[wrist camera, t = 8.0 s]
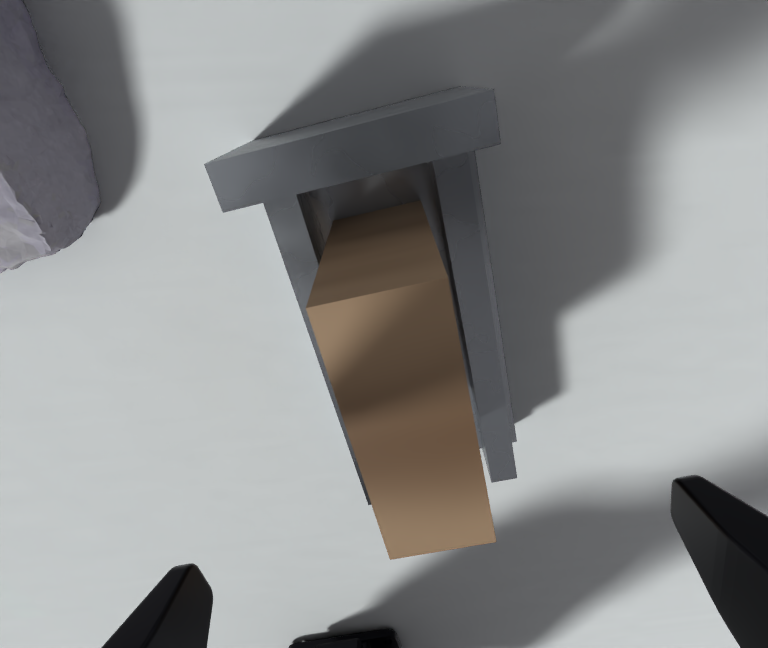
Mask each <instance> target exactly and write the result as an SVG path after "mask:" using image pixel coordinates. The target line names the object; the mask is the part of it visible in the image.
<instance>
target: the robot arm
mask: <svg viewBox="0 0 768 648" xmlns="http://www.w3.org/2000/svg"><path fill="white" fill-rule="evenodd" d="M671 516H672V519H673V522H674V524H675V526H676V528H677V530H678V532H679V534H680V536H681V538H682V540H683V542H684V544H685V546H686V548H687V550H688V552H689V554H690V556H691V558H692V560H693V562H694V564H695V566H696V568H697V570H698V572H699V574H700V576H701V578H702V580H703V582H704V584H705V586H706V588H707V590H708V592H709V595H710V597H711V598H712V600H713V602H714V604H715V606H716V608H717V610H718V612H719V613H720V615H721V617H722V618H723V620H724V622H725V623H726V625H727V627H728V628H729V630H730V632H731V633H732V635H733V636H734V638H735V640H736V641H737V643H738V644H739V646H740V648H768V516H766V515H765V514H763V513H761V512H760V511H758V510H756V509H755V508H753V507H751V506H750V505H748V504H746V503H745V502H743V501H741V500H740V499H738V498H736V497H735V496H733V495H731V494H730V493H728V492H726V491H725V490H723V489H721V488H720V487H718V486H716V485H715V484H713V483H711V482H710V481H708V480H706V479H705V478H703V477H701V476H698V475H691V476H686V477H680V478H676V479H674V480H673V482H672V490H671ZM212 605H213V593H212V589H211V587H210V585H209V584H208V582H207V581H206V579H205V577H204V576H203V574H202V573H201V571H200V569H199V568H198V566H197V565H195V564H185V565H179V566H175V567H173V568H172V569H171V570H170V571H169V572H168V573H167V574H166V575H165V576H164V577H163V578H162V580H161V581H160V582H159V583H158V584H157V585H156V586H155V588H154V589H153V590H152V591H151V592H150V593H149V594H148V595H147V597H146V598H145V599H144V600H143V601H142V602H141V603H140V605H139V606H138V607H137V608H136V609H135V610H134V611H133V613H132V614H131V615H130V616H129V617H128V618H127V619H126V620H125V622H124V623H123V624H122V625H121V626H120V627H119V628H118V630H117V631H116V632H115V633H114V634H113V635H112V636H111V637H110V639H109V640H108V641H107V642H106V643H105V644H104V645H103V647H102V648H207V641H208V634H209V627H210V619H211V612H212ZM289 648H402V647H401V645H400V642H399V639H398V637H397V634H396V632H395V631H393V630H390V629H385V630H378V631H372V632H366V633H359V634H353V635H347V636H340V637H334V638H327V639H321V640H315V641H308V642H302V643H295V644H292V645H290V646H289Z"/></svg>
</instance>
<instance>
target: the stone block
mask: <svg viewBox="0 0 768 648" xmlns="http://www.w3.org/2000/svg"><path fill="white" fill-rule="evenodd" d="M100 203H101V200H100V195H99V186H98V184H97V181H96V178H95V173H94V168H93V162H92V153H91V148H90V145H89V143H88V138H87V133H86V131H85V129H84V127H83V126H82V125H81V123H80V122H79V119H78V117H77V115H76V114H75V112H74V111H73V109H72V107H71V105H70V104H69V102H68V100H67V98H66V96H65V94H64V88H63V86H62V85H61V84H60V83H59V81H58V80H57V79H56V78H55V76H54V75H53V74H52V73H51V71H50V70H49V68H48V67H47V64H46V62H45V59H44V56H43V53H42V51H41V49H40V47H39V43H38V39H37V35H36V31H35V29H34V28H33V26H32V21H31V17H30V15H29V13H28V10H27V9H26V7H25V5H24V3H23V1H22V0H0V273H2V272H3V271H5V270H6V269H10V270H13V269H16V268H18V267H20V266H21V265H22V264H23V263H25V262H27V261H30V260H33V259H37V258H40V257H44V256H49V255H53V254H56V252H57V251H60V249H62V248H63V249H64V248H66V247H68V246H70V245H71V244H72V243H73V242H75V241H76V240H77V239H79V238H80V237H81V236H82V234H83V232H84V230H86V227H87V226H88V225H89V223H90V222H91V221H92V220H93V215H94V212H95V211H96V210H97V208H98V207H99V205H100Z"/></svg>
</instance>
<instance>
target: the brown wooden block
mask: <svg viewBox="0 0 768 648" xmlns="http://www.w3.org/2000/svg"><path fill="white" fill-rule="evenodd" d="M306 311H307V313H308V316H309V319H310V322H311V325H312V328H313V331H314V334H315V337H316V340H317V343H318V346H319V349H320V352H321V355H322V358H323V361H324V364H325V367H326V370H327V373H328V376H329V379H330V382H331V385H332V388H333V391H334V394H335V397H336V400H337V403H338V406H339V409H340V412H341V415H342V418H343V421H344V424H345V427H346V430H347V433H348V436H349V439H350V442H351V445H352V448H353V451H354V454H355V457H356V460H357V463H358V465H359V468H360V471H361V474H362V477H363V480H364V483H365V486H366V489H367V492H368V495H369V498H370V501H371V504H372V507H373V510H374V513H375V516H376V519H377V522H378V525H379V528H380V531H381V534H382V537H383V540H384V543H385V546H386V549H387V552H388V555H389V558H390V560H391V559H397V558H403V557H409V556H415V555H421V554H427V553H433V552H439V551H445V550H452V549H458V548H464V547H470V546H476V545H482V544H488V543H494V542H496V537H495V532H494V526H493V521H492V515H491V510H490V504H489V499H488V493H487V488H486V482H485V477H484V471H483V466H482V460H481V455H480V450H479V444H478V439H477V433H476V428H475V422H474V417H473V411H472V406H471V400H470V395H469V389H468V384H467V378H466V373H465V367H464V362H463V357H462V351H461V346H460V340H459V335H458V329H457V324H456V318H455V313H454V307H453V302H452V296H451V291H450V285H449V280H448V276H447V273H446V270H445V267H444V265H443V262H442V259H441V256H440V253H439V251H438V248H437V245H436V242H435V239H434V237H433V234H432V231H431V228H430V225H429V223H428V220H427V217H426V214H425V211H424V208H423V206H422V203H421V200H420V201H415V202H411V203H407V204H402V205H398V206H394V207H390V208H385V209H381V210H377V211H372V212H368V213H364V214H360V215H355V216H351V217H347V218H343V219H338V220H334V221H333V223H332V226H331V229H330V233H329V236H328V239H327V242H326V245H325V248H324V252H323V255H322V258H321V261H320V264H319V268H318V271H317V274H316V277H315V280H314V283H313V287H312V290H311V293H310V296H309V299H308V303H307V306H306Z"/></svg>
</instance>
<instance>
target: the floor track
mask: <svg viewBox="0 0 768 648" xmlns="http://www.w3.org/2000/svg"><path fill="white" fill-rule="evenodd" d="M498 144H501V143H500V135H499V127H498V118H497V110H496V102H495V94H494V89H485V88H473V87H461V86H460V87H456V88H453V89H449V90H445V91H441V92H437V93H433V94H430V95H426V96H422V97H418V98H414V99H410V100H407V101H403V102H399V103H395V104H391V105H387V106H384V107H380V108H376V109H372V110H368V111H364V112H361V113H357V114H353V115H349V116H345V117H341V118H338V119H334V120H330V121H326V122H322V123H318V124H314V125H311V126H307V127H303V128H299V129H295V130H291V131H288V132H284V133H280V134H276V135H272V136H268V137H265V138H261V139H257V140H253V141H251V142H249V143H247V144H245V145H242V146H240V147H238V148H236V149H234V150H232V151H230V152H228V153H226V154H224V155H222V156H220V157H218V158H216V159H214V160H212V161H210V162H208V163H206V164H204V165H205V168H206V170H207V173H208V175H209V178H210V181H211V183H212V186H213V188H214V191H215V193H216V196H217V199H218V201H219V204H220V206H221V209H222V211H223V212H228V211H232V210H236V209H240V208H244V207H248V206H252V205H256V204H260V203H263V204H264V206H265V209H266V212H267V215H268V218H269V221H270V224H271V227H272V229H273V232H274V235H275V238H276V241H277V244H278V247H279V250H280V252H281V255H282V258H283V261H284V264H285V267H286V270H287V272H288V275H289V278H290V281H291V284H292V287H293V290H294V293H295V295H296V298H297V301H298V304H299V307H300V310H301V313H302V315H303V318H304V321H305V324H306V327H307V330H308V333H309V336H310V338H311V341H312V344H313V347H314V350H315V353H316V356H317V358H318V361H319V364H320V367H321V370H322V373H323V376H324V379H325V381H326V384H327V387H328V390H329V393H330V396H331V399H332V401H333V404H334V407H335V410H336V413H337V416H338V419H339V422H340V424H341V427H342V430H343V433H344V436H345V439H346V442H347V444H348V447H349V450H350V453H351V456H352V459H353V462H354V465H355V467H356V470H357V473H358V476H359V479H360V482H361V485H362V487H363V490H364V493H365V496H366V499H367V502H368V505H371V501H370V498H369V495H368V492H367V489H366V486H365V483H364V480H363V477H362V474H361V471H360V468H359V465H358V463H357V460H356V457H355V454H354V451H353V448H352V445H351V442H350V439H349V436H348V433H347V430H346V427H345V424H344V421H343V418H342V415H341V412H340V409H339V406H338V403H337V400H336V397H335V394H334V391H333V388H332V385H331V382H330V379H329V376H328V373H327V370H326V367H325V364H324V361H323V358H322V355H321V352H320V349H319V346H318V343H317V340H316V337H315V334H314V331H313V328H312V325H311V322H310V319H309V316H308V313H307V311H306V306H307V303H308V299H309V296H310V293H311V290H312V287H313V283H314V280H315V277H316V274H317V271H318V268H319V264H320V261H321V258H322V255H323V252H324V248H325V245H326V242H327V239H328V236H329V233H330V229H331V226H332V223H333V221H334V220H338V219H343V218H347V217H351V216H355V215H360V214H364V213H368V212H372V211H377V210H381V209H385V208H390V207H394V206H398V205H402V204H407V203H411V202H415V201H420V200H421V203H422V206H423V208H424V211H425V214H426V217H427V220H428V223H429V225H430V228H431V231H432V234H433V237H434V239H435V242H436V245H437V248H438V251H439V253H440V256H441V259H442V262H443V265H444V267H445V270H446V273H447V276H448V280H449V285H450V291H451V296H452V302H453V307H454V313H455V318H456V324H457V329H458V335H459V340H460V346H461V351H462V357H463V362H464V367H465V373H466V378H467V384H468V389H469V395H470V400H471V406H472V411H473V417H474V422H475V428H476V433H477V439H478V444H479V449H480V448H482V450H483V453H484V457H485V460H486V464H487V468H488V471H489V475H490V478H491V482H497V481H503V480H508V479H514V478H517V474H516V467H515V461H514V454H513V447H512V442H517V440H516V433H515V426H514V419H513V412H512V405H511V398H510V391H509V384H508V378H507V371H506V364H505V357H504V350H503V343H502V336H501V329H500V322H499V315H498V309H497V302H496V295H495V288H494V281H493V274H492V267H491V260H490V253H489V246H488V240H487V233H486V226H485V219H484V212H483V205H482V198H481V191H480V184H479V177H478V170H477V164H476V157H475V150H478V149H482V148H486V147H490V146H494V145H498Z"/></svg>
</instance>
